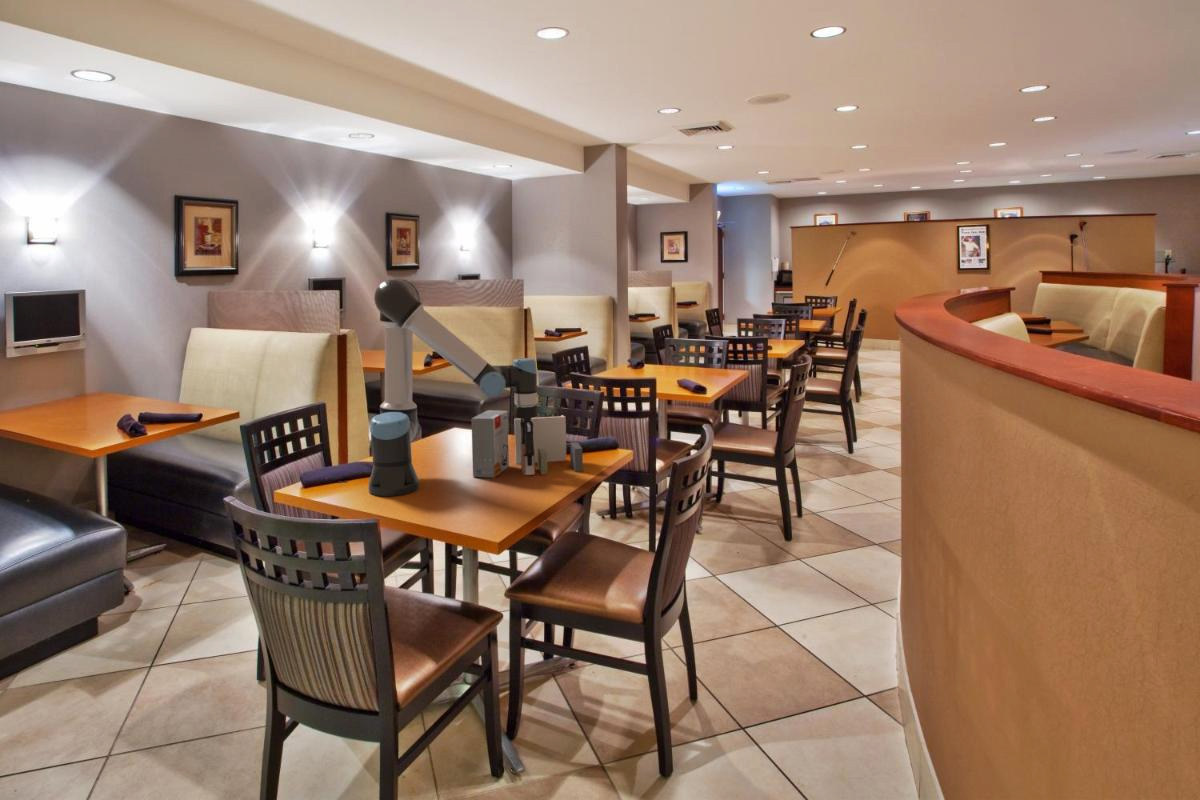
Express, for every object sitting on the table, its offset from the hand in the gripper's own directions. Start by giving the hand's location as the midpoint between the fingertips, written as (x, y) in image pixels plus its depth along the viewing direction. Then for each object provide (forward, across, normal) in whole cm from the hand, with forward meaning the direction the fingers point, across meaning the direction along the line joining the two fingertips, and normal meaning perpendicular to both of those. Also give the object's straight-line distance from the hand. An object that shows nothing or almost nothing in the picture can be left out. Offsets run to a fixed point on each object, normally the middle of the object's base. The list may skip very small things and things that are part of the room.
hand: (528, 470), depth 238 cm
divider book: (0, 0, -5) cm, 5 cm away
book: (+1, 0, 0) cm, 1 cm away
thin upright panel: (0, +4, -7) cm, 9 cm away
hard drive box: (+1, +4, +12) cm, 13 cm away
